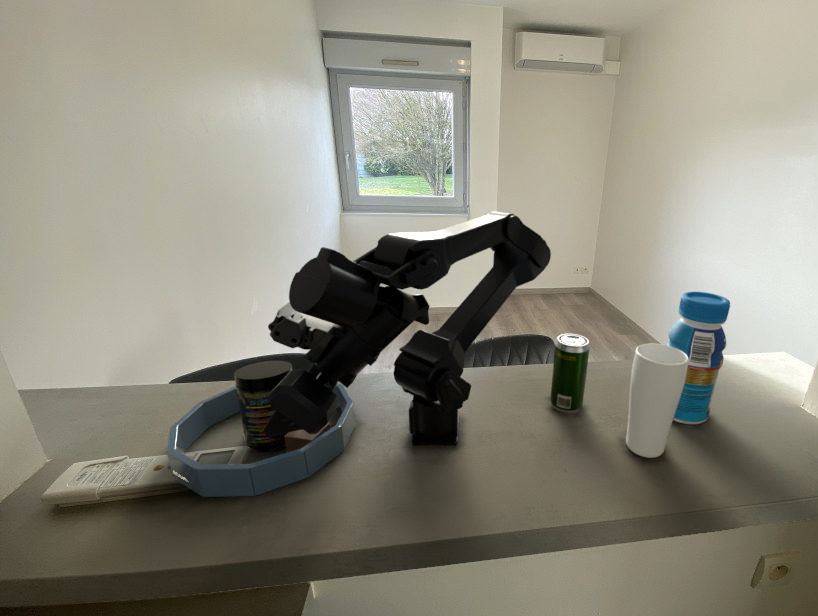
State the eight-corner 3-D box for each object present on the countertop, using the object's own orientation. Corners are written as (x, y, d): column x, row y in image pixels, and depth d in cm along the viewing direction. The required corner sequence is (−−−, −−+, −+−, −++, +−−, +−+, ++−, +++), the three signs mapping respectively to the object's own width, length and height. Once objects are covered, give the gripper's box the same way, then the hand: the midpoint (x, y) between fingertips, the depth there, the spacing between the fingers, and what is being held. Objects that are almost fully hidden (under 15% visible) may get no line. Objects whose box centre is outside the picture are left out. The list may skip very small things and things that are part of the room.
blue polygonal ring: (368, 396, 68) (366, 375, 67) (324, 494, 48) (320, 467, 47) (233, 397, 67) (229, 375, 65) (130, 498, 47) (120, 470, 45)
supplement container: (303, 443, 56) (295, 372, 53) (245, 459, 52) (234, 383, 50) (296, 422, 61) (288, 357, 59) (243, 435, 58) (233, 366, 55)
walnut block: (333, 446, 56) (330, 421, 55) (316, 466, 53) (312, 440, 51) (306, 442, 57) (302, 418, 56) (288, 461, 53) (283, 436, 52)
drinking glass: (634, 427, 63) (649, 338, 58) (677, 448, 59) (698, 354, 54) (611, 446, 59) (625, 351, 54) (655, 471, 54) (676, 370, 49)
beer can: (582, 416, 65) (590, 348, 61) (548, 412, 66) (554, 344, 62) (582, 399, 70) (590, 335, 66) (551, 395, 71) (556, 331, 67)
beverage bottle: (643, 407, 69) (664, 294, 62) (671, 392, 73) (693, 286, 67) (691, 433, 62) (720, 310, 55) (718, 415, 67) (748, 300, 60)
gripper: (339, 263, 54) (267, 338, 57) (273, 310, 37) (174, 414, 40) (402, 319, 57) (330, 387, 60) (368, 387, 40) (269, 478, 43)
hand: (285, 410), depth 51 cm, fingers open, 9 cm apart
